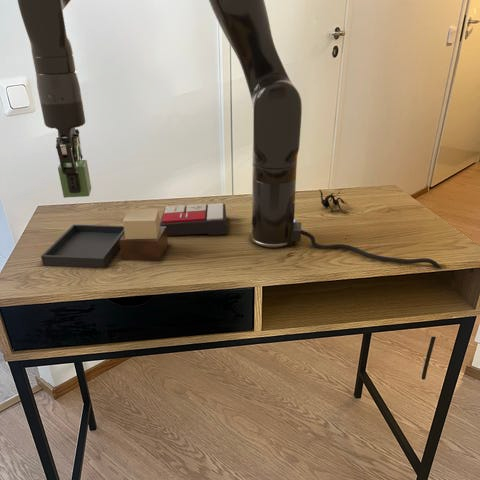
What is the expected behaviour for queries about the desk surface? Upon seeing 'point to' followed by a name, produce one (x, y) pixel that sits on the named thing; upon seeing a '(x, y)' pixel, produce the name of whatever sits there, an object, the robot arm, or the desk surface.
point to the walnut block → (144, 247)
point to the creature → (326, 202)
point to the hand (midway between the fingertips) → (77, 187)
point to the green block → (83, 180)
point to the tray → (85, 246)
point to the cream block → (142, 224)
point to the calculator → (195, 219)
